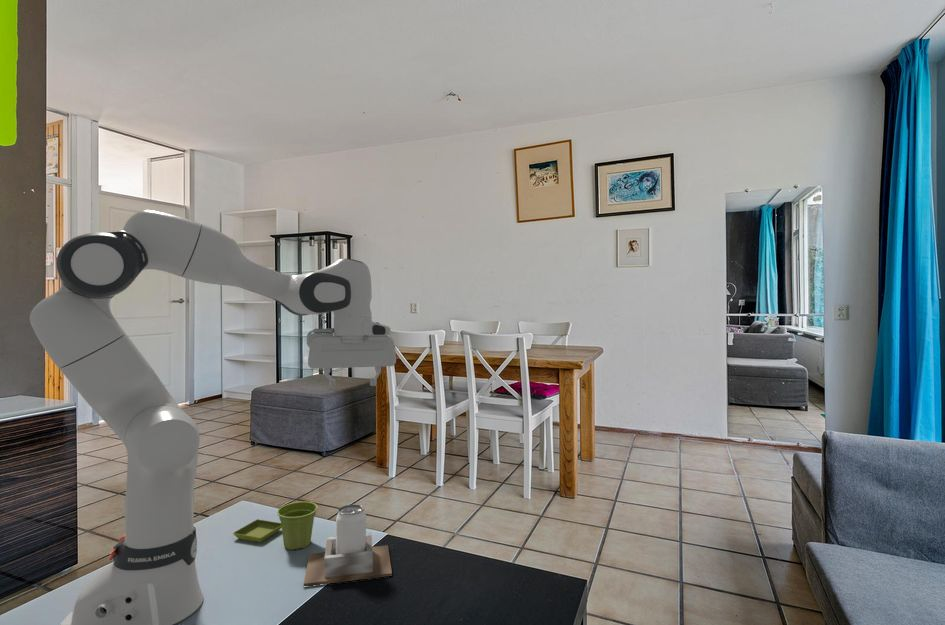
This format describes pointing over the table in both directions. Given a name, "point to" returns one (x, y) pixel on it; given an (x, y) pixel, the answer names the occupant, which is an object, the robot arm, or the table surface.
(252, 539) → the saucer
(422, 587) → the table surface
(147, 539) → the robot arm
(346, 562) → the socket board
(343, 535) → the can
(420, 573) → the table surface
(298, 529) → the plant pot
